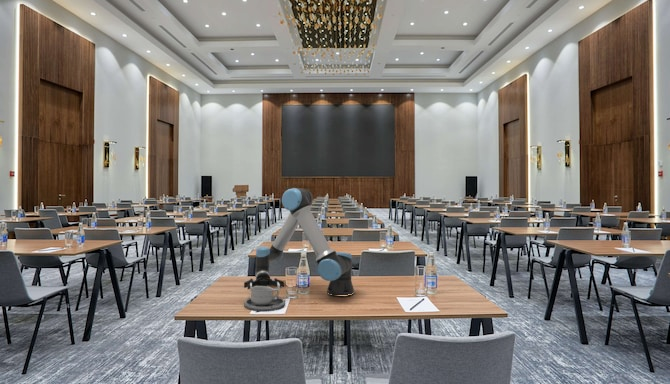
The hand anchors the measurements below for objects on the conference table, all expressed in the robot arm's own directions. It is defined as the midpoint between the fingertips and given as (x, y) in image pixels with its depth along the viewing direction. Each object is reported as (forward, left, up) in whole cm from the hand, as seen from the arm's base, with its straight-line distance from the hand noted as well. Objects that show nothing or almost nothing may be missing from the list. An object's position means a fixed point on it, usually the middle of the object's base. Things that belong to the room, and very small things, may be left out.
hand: (265, 288), depth 205 cm
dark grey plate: (0, 0, -8) cm, 9 cm away
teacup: (-1, +2, -7) cm, 8 cm away
